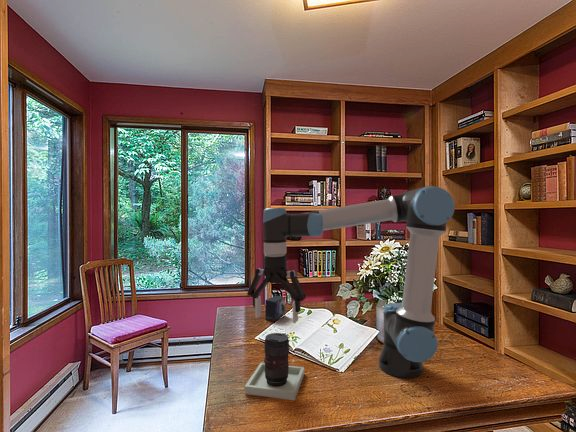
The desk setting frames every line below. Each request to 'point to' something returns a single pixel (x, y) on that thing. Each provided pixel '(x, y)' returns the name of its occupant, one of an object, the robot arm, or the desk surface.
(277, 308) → the small box
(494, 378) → the desk surface
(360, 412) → the desk surface
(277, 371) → the camera lens
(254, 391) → the tray
